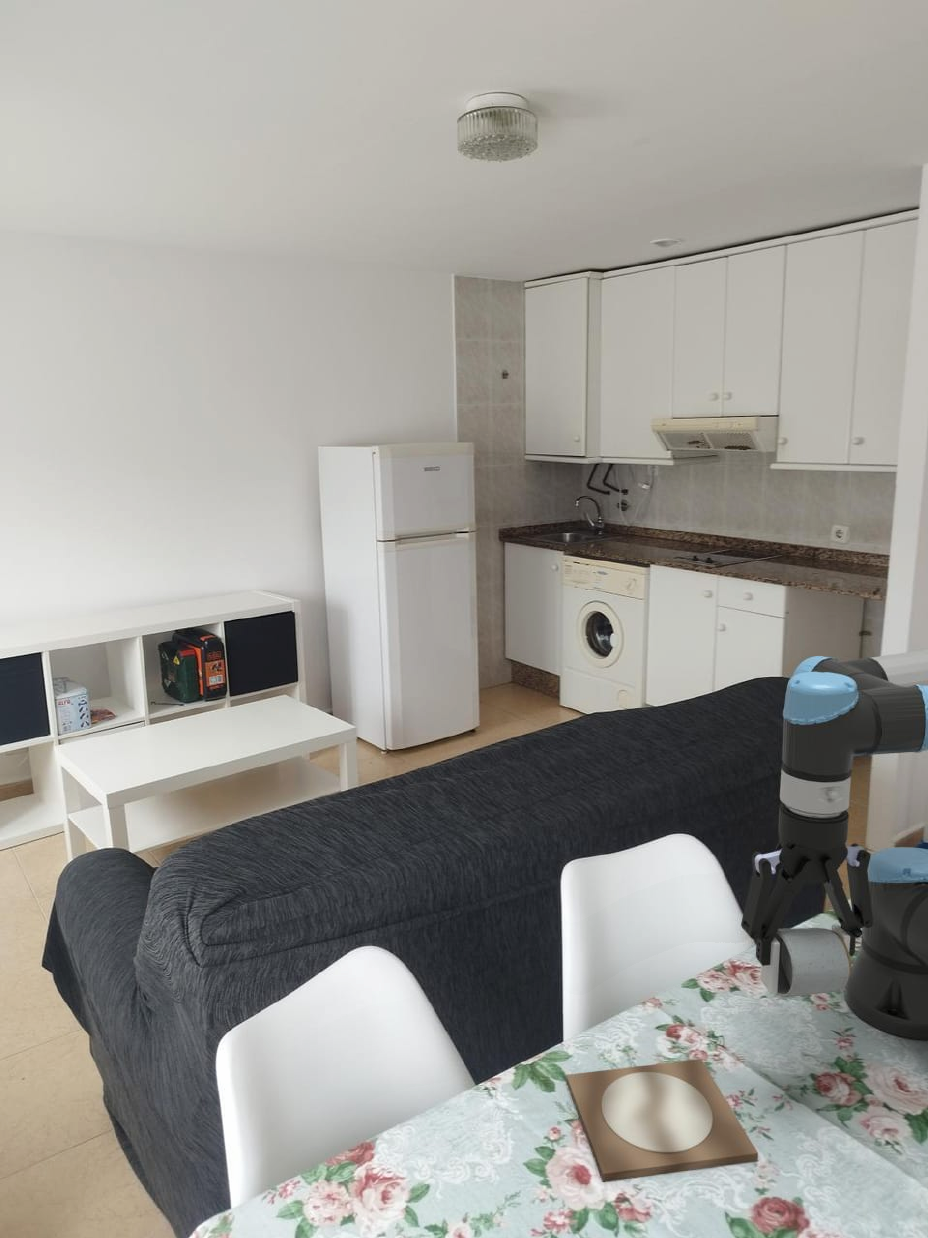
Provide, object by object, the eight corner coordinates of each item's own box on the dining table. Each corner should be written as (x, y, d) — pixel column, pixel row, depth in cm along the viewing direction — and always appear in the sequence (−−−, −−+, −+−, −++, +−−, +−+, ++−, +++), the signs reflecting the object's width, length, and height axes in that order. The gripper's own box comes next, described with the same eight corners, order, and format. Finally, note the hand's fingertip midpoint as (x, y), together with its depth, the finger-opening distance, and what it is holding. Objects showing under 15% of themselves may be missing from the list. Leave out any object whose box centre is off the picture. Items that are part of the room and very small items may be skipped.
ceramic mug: (855, 1002, 104) (858, 942, 103) (791, 1011, 103) (794, 950, 102) (804, 955, 115) (807, 899, 113) (745, 962, 113) (747, 906, 112)
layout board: (701, 1065, 116) (701, 1056, 116) (757, 1161, 101) (758, 1151, 100) (566, 1081, 114) (566, 1072, 113) (603, 1182, 98) (603, 1171, 98)
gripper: (742, 826, 98) (734, 1011, 103) (917, 812, 101) (902, 993, 105) (714, 800, 106) (708, 974, 110) (878, 787, 109) (866, 958, 113)
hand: (803, 983), depth 108 cm, fingers closed on ceramic mug, 8 cm apart
